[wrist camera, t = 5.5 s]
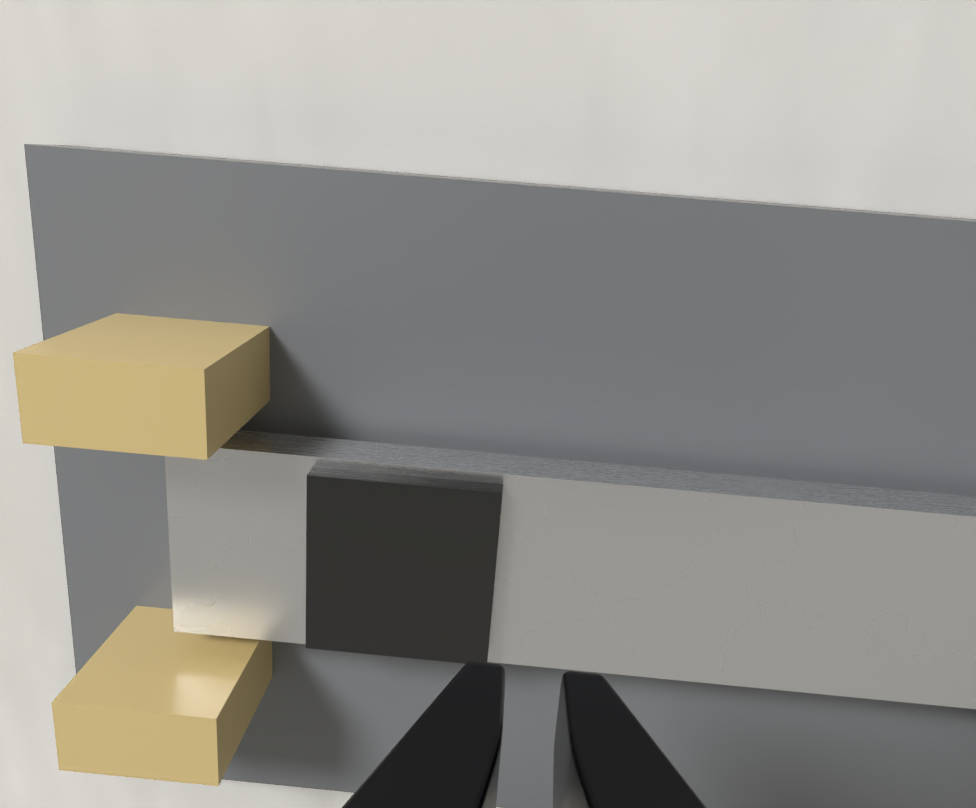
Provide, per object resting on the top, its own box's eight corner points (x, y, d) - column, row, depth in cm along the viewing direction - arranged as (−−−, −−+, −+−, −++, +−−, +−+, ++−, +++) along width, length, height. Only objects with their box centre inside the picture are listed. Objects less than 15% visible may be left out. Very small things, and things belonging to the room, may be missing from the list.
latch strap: (1153, 508, 15) (1224, 548, 14) (1089, 684, 16) (1147, 739, 15) (190, 421, 16) (154, 450, 14) (198, 598, 17) (164, 643, 15)
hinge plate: (1305, 246, 15) (1608, 282, 11) (1079, 826, 19) (1233, 1014, 15) (61, 145, 15) (-112, 141, 11) (111, 730, 20) (-2, 884, 16)
